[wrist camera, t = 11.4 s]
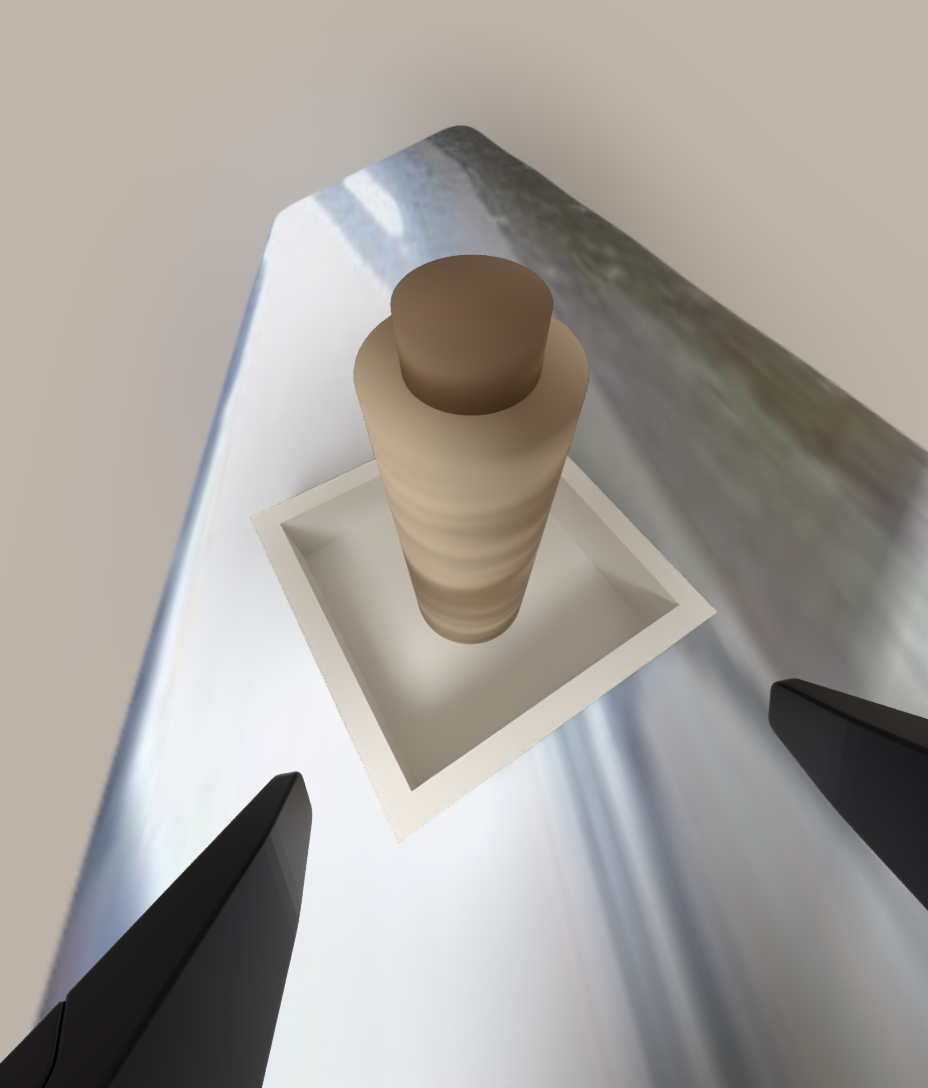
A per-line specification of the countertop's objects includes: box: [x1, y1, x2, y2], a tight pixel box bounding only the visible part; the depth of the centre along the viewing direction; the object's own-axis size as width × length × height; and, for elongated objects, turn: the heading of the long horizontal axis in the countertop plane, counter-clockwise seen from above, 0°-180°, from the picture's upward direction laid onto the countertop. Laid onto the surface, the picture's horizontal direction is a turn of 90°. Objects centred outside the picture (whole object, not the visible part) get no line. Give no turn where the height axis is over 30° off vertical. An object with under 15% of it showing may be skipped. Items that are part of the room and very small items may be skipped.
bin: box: [250, 455, 717, 843], centre depth 20 cm, size 14×14×4 cm
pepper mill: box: [354, 255, 589, 644], centre depth 14 cm, size 5×5×14 cm
